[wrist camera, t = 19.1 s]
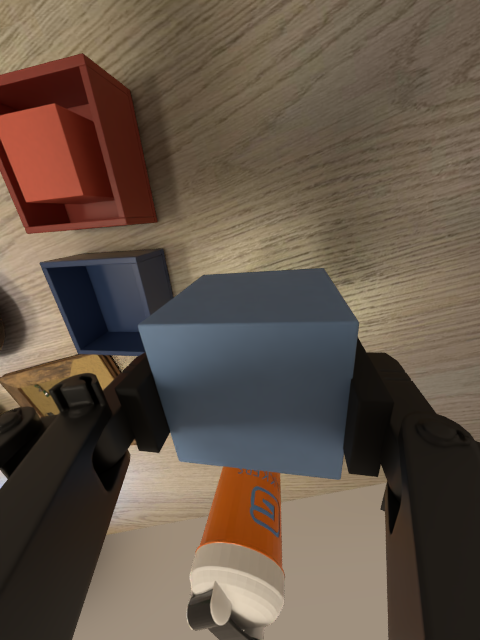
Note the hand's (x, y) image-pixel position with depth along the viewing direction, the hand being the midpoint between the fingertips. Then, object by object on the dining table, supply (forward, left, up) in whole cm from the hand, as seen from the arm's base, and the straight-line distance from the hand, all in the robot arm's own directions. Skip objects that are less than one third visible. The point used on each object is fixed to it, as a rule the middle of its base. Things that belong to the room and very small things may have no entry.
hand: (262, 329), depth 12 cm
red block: (-11, -18, -14) cm, 26 cm away
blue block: (0, 0, 0) cm, 0 cm away
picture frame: (+23, -34, -15) cm, 44 cm away
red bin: (-11, -18, -15) cm, 26 cm away
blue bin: (+3, -18, -15) cm, 24 cm away
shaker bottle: (+26, -3, -15) cm, 30 cm away
